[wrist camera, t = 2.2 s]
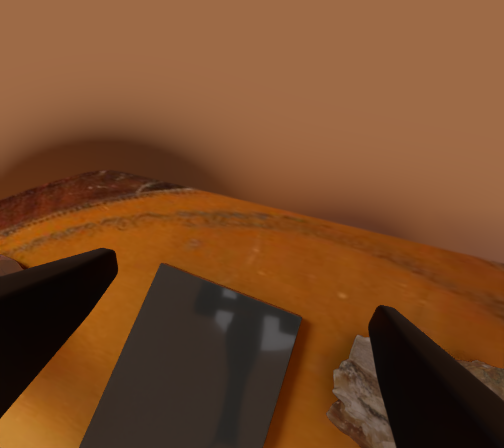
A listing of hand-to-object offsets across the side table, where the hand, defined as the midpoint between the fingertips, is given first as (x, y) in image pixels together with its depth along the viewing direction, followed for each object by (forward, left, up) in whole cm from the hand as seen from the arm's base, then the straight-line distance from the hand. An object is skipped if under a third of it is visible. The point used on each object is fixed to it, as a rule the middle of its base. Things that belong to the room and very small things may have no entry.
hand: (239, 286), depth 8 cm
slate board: (-11, +2, -15) cm, 18 cm away
